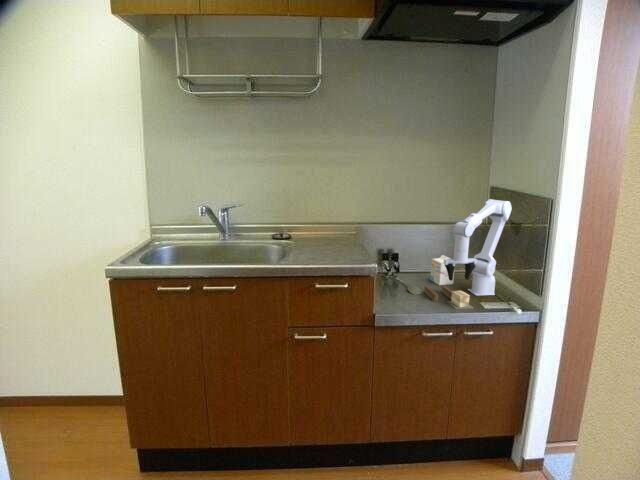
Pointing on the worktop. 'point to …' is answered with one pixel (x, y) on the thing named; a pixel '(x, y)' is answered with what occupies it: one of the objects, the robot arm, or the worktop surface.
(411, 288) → the soupspoon
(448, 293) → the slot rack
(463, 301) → the maple block
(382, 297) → the worktop surface
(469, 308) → the gray mat
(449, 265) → the robot arm
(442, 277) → the ink box
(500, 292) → the worktop surface
